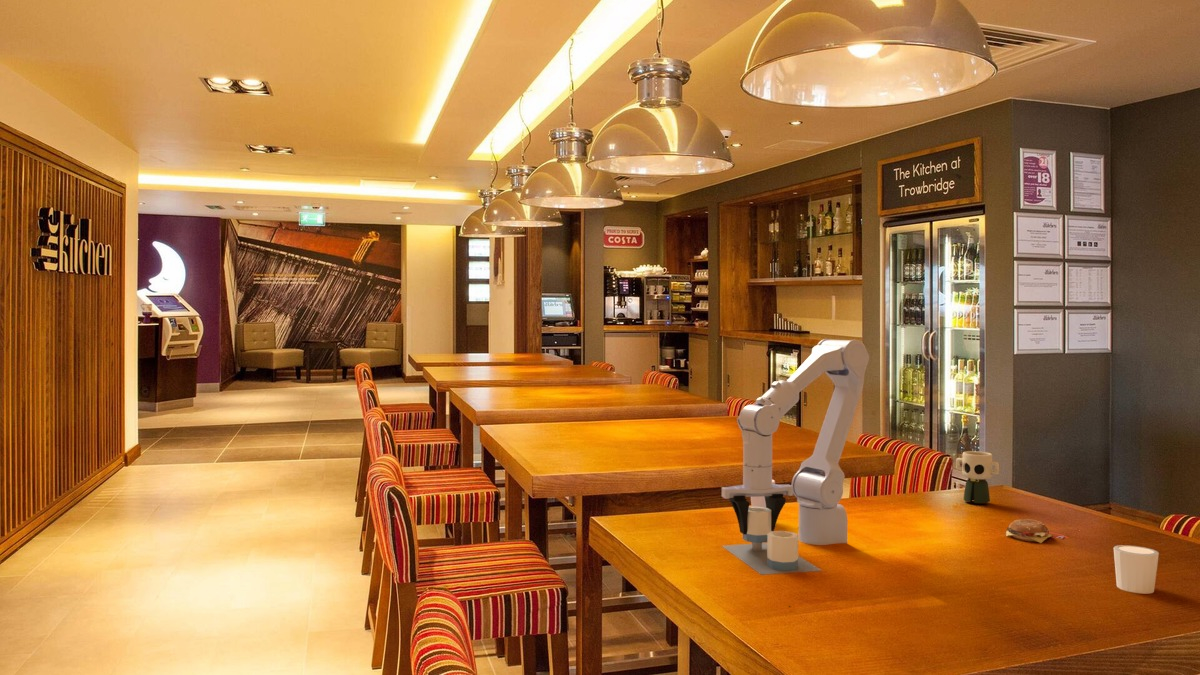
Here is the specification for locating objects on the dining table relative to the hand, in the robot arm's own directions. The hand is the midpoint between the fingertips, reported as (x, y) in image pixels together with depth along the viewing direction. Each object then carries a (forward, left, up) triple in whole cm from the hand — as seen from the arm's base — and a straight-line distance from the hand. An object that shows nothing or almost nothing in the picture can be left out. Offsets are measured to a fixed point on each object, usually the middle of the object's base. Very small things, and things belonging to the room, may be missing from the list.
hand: (757, 532), depth 172 cm
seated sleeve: (0, +12, -3) cm, 12 cm away
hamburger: (-66, -2, -6) cm, 67 cm away
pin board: (0, +6, -5) cm, 8 cm away
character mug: (-76, -35, -5) cm, 84 cm away
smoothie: (-13, -28, -5) cm, 31 cm away
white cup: (-58, +33, -5) cm, 67 cm away
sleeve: (0, 0, -1) cm, 1 cm away
